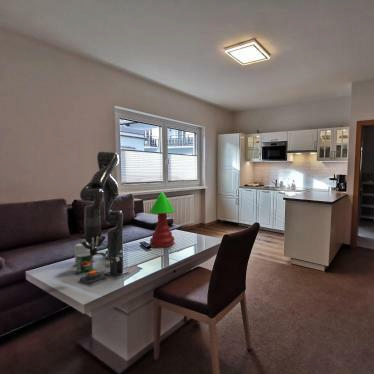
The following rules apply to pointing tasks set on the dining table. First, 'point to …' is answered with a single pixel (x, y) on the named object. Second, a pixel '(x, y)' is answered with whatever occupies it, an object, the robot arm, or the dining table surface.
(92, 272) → the power button
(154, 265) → the dining table surface
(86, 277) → the power block
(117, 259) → the switch
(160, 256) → the dining table surface
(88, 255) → the canned tomato
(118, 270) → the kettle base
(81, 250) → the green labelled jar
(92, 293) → the dining table surface
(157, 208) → the table lamp
